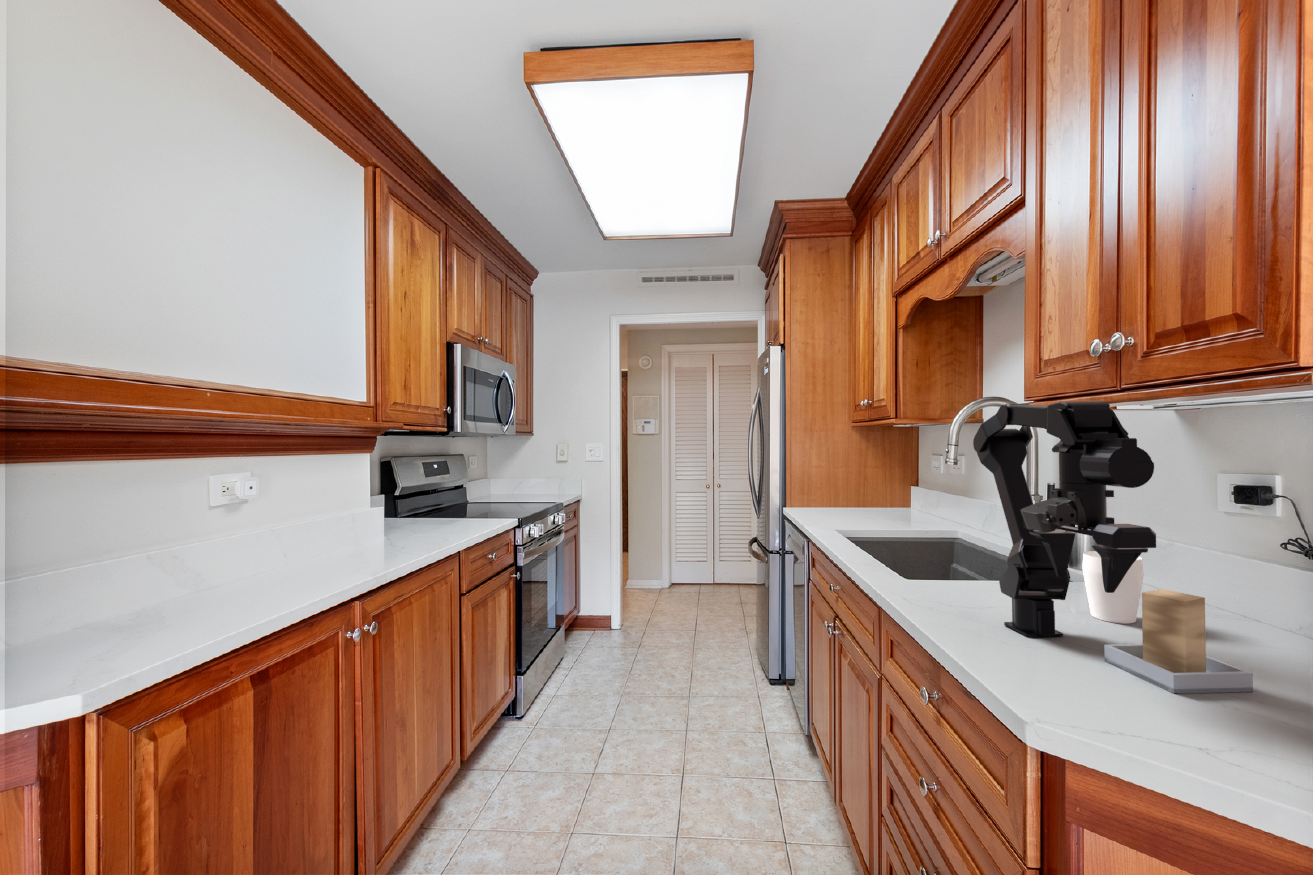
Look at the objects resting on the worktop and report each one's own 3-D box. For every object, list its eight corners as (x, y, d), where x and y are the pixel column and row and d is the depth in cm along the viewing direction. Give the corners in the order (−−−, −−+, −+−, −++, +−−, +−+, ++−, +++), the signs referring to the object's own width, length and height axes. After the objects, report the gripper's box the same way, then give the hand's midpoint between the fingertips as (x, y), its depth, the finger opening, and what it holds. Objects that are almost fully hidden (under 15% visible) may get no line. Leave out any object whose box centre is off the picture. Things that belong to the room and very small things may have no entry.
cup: (1083, 608, 111) (1082, 548, 111) (1143, 616, 105) (1142, 554, 105) (1082, 619, 104) (1081, 556, 104) (1145, 629, 98) (1144, 562, 98)
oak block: (1143, 667, 81) (1141, 592, 81) (1163, 662, 83) (1161, 588, 83) (1186, 680, 76) (1184, 601, 76) (1206, 675, 78) (1204, 597, 78)
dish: (1104, 660, 85) (1104, 644, 85) (1173, 659, 85) (1173, 643, 85) (1173, 693, 74) (1173, 674, 74) (1253, 691, 74) (1252, 673, 74)
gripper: (991, 479, 93) (993, 571, 93) (1079, 488, 75) (1081, 603, 75) (1055, 478, 94) (1057, 569, 94) (1159, 487, 75) (1161, 601, 75)
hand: (1083, 584), depth 84 cm, fingers open, 9 cm apart
